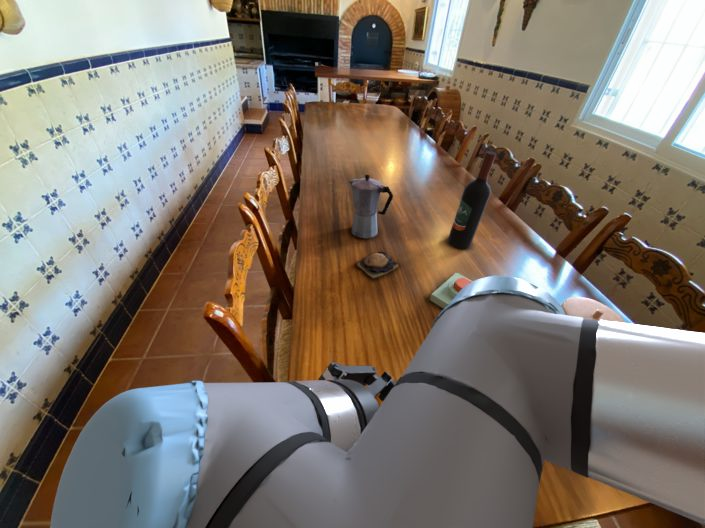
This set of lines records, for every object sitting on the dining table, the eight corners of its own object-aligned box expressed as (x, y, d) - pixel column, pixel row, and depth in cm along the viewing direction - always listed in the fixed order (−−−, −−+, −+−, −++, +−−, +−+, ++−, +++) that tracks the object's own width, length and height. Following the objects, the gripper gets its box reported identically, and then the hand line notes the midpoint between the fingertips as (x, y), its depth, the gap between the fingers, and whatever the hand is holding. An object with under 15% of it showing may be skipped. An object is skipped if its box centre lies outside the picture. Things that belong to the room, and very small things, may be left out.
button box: (464, 322, 73) (469, 311, 70) (429, 300, 78) (433, 289, 75) (487, 296, 80) (492, 285, 78) (454, 277, 85) (458, 267, 83)
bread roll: (373, 281, 82) (374, 271, 80) (354, 264, 87) (355, 255, 85) (400, 267, 87) (402, 257, 85) (381, 252, 92) (383, 243, 90)
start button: (466, 297, 74) (468, 292, 73) (451, 288, 76) (452, 283, 75) (474, 288, 77) (476, 284, 76) (459, 280, 79) (461, 275, 78)
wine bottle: (469, 251, 96) (506, 159, 77) (446, 245, 98) (476, 154, 79) (471, 239, 101) (505, 151, 82) (448, 234, 103) (477, 146, 84)
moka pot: (351, 219, 106) (355, 165, 94) (391, 232, 102) (401, 176, 89) (339, 232, 100) (341, 175, 87) (381, 246, 95) (390, 188, 82)
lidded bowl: (570, 370, 64) (601, 339, 57) (532, 324, 73) (554, 293, 66) (617, 362, 66) (652, 331, 59) (574, 318, 76) (600, 287, 69)
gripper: (249, 378, 29) (363, 376, 48) (368, 600, 19) (454, 487, 37) (294, 320, 29) (391, 341, 47) (443, 515, 18) (493, 443, 37)
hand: (419, 405), depth 42 cm, fingers open, 5 cm apart
